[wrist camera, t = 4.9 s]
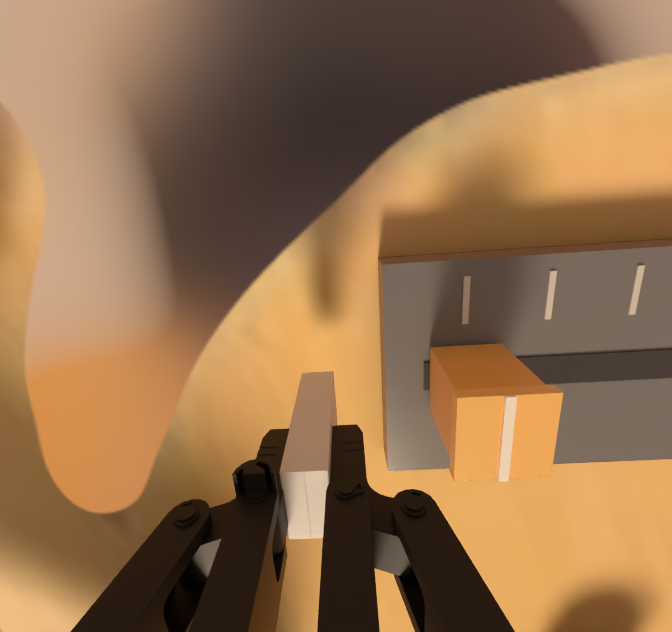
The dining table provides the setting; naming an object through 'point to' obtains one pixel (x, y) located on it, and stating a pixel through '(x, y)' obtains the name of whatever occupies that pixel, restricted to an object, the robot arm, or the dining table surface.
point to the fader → (492, 413)
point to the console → (537, 342)
